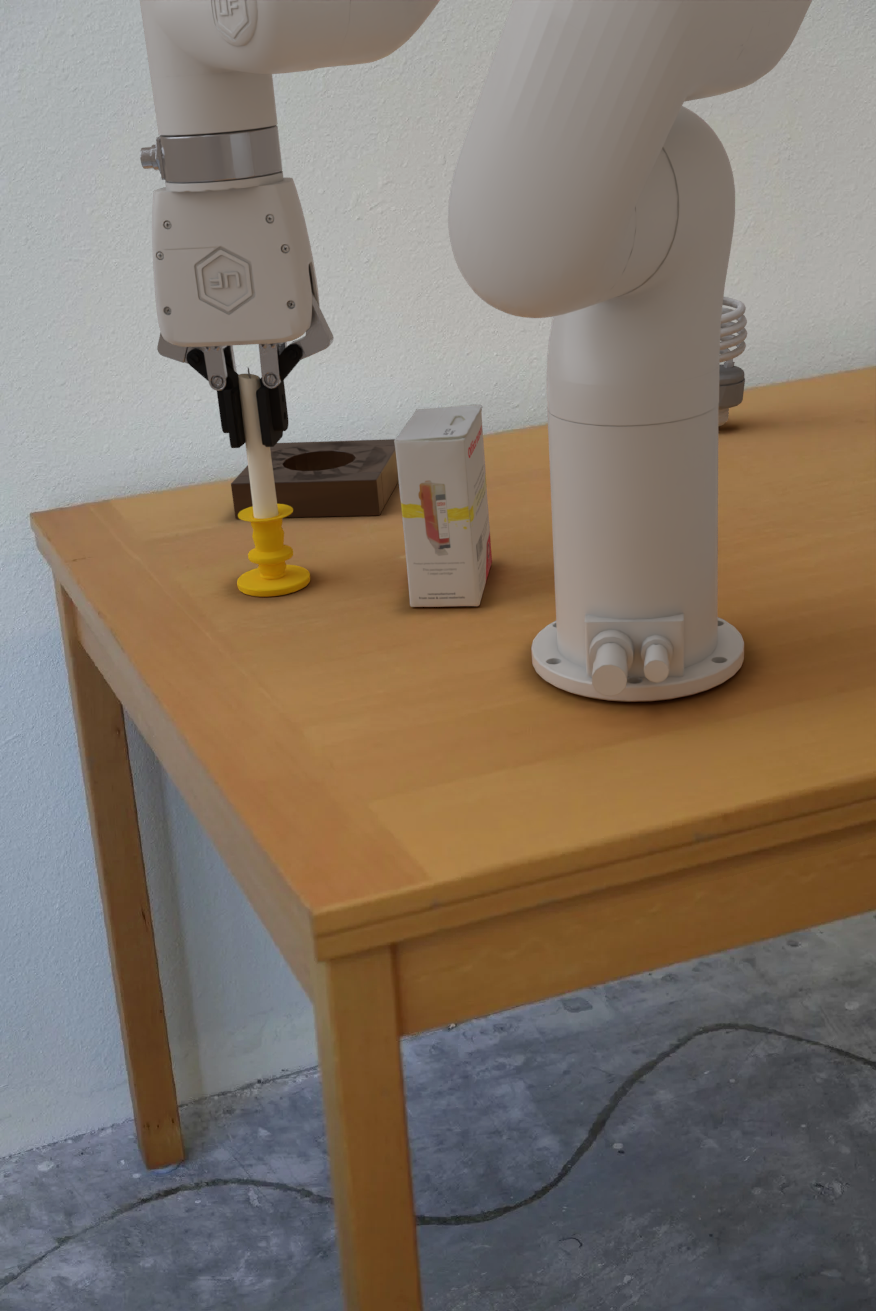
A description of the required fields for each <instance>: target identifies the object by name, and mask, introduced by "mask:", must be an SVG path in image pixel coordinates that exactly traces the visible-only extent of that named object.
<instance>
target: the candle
mask: <svg viewBox="0 0 876 1311" xmlns="http://www.w3.org/2000/svg"><path fill="white" fill-rule="evenodd" d="M238 374H239V375H238V377H239V390H240V401H241V409H242V417H243V426H244V434H245V443H244V445H245V451H246V452H245V453H246V460H247V465H248V470H249V478H250V487H251V495H252V504H253V506H252V507H249V508H246V509H244V510H242V511H240V512H239V513H238V517H239V520H241V521H244V522H249V523H250V527H251V528H252V534H251V538H252V541H253V544H254V547H253V548H252V549H250V550H249V552H248V553H247V559H248V561H249V562H250V563H251V564H256V565H258V566H257V567H256V568H253V569H249V570H248V571H245V572H244V573H242V574H240V576H239V577H238V578H237V579H236V580H237V582H236V586H237V589H238V590H239V592H241V593H243V595H247V596H251V597H261V598H262V597H263V598H264V597H265V598H267V597H278V596H279V597H280V596H285V595H289V594H292V593H296V592H298V591H300V590H302V589H304V588H305V587H307V586H308V585H309V584H310V583H311V573H310V571H309V570H308V569H307V568H305V567H303V566H300V565H296V564H287V563H286V562H287V561H288V560H290V559H292V558H293V556H294V549H293V547H291V546H290V545H288V544H285V530H284V529H283V519H284V517H287V516H289V515H290V514H291V513H292V512H293V508H292V507H291V506H289V505H285V504H277V499H276V491H275V483H274V475H273V467H272V459H271V451H270V447H265V445H263V444H262V439H261V431H260V423H259V415H258V406H257V398H256V391H257V390H258V389H259V388H260V387H261V384H260V378H261V376H259V375H257V374H254V373H250V368H249V367H247V373H238ZM287 518H288V517H287Z"/></svg>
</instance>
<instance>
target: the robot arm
mask: <svg viewBox="0 0 876 1311" xmlns="http://www.w3.org/2000/svg"><path fill="white" fill-rule="evenodd" d="M440 1H441V0H139V5H140V12H141V19H142V27H143V32H144V34H143V35H144V42H145V47H146V48H145V49H146V55H147V62H148V70H149V76H150V83H151V90H152V91H151V92H152V97H153V105H154V111H155V119H156V126H157V133H158V135H159V136H156V138H155V144H152V145H151V146H147V147H141V148H140V151H139V158H140V164H141V167H142V168H143V169H144V170H154V171H155V172H156V171H158V172H159V174H160V175H161V176H160V177H161V178H160V179H161V180H162V181H164V182H165V183H164V184H165V186H163V187H161V188H156V189H153V193H152V205H151V206H152V209H151V247H152V248H151V249H152V268H153V269H152V270H153V285H154V297H155V307H156V315H157V316H156V317H157V322H158V328H159V332H160V333H159V337H158V341H157V347H156V350H157V353H158V354H159V355H160V356H162V357H164V358H167V359H170V360H174V361H176V362H180V363H184V364H188V365H189V366H190V367H191V368H192V369H193V370H194V371H196V373H198V374H199V375H201V377H203V378H204V379H205V380H206V381H207V382H208V384H209V386H210V388H211V389H212V390H214V391H216V396H217V403H218V410H219V411H218V412H219V419H220V426H221V431H222V433H223V434H228V437H229V438H228V439H229V446H230V448H231V449H240V448H241V447H243V446H244V445H245V434H244V426H243V417H242V409H241V401H240V390H239V377H238V375H239V374H240V373H238V372H237V371H238V370H237V366H236V365H237V364H236V360H235V352H234V346H248V345H258V351H259V362H260V363H259V364H260V373H261V376H260V384H261V387H260V388H259V389H258V390H257V391H256V398H257V406H258V415H259V423H260V431H261V439H262V444H263V445H265V447H274V446H275V445H276V443H279V442H280V440H281V439H282V438H283V436H284V432H286V431H287V430H288V428H289V414H288V413H289V412H288V405H287V404H288V403H287V396H286V389H285V388H286V387H285V380H286V378H288V376H289V374H290V373H291V372H292V371H293V370H294V369H295V367H297V365H298V364H299V363H300V362H301V361H302V360H305V359H306V358H308V357H309V358H310V357H311V356H314V355H316V354H318V353H320V352H322V351H324V350H327V349H328V348H329V347H330V346H331V345H332V344H333V342H334V339H335V338H334V334H333V333H332V330H331V328H330V326H329V324H328V321H327V320H326V317H325V316H324V314H323V312H322V309H321V307H320V306H321V305H320V294H319V287H318V281H317V279H318V278H317V274H316V268H315V262H314V257H313V252H312V251H313V250H312V246H311V242H310V237H309V231H308V228H307V224H306V218H305V214H304V211H303V207H302V204H301V200H300V196H299V193H298V190H297V187H296V184H295V181H294V178H293V177H287V176H286V177H284V171H283V161H282V152H281V143H280V135H279V134H280V133H279V126H278V115H277V107H276V97H275V88H274V78H273V75H280V74H291V73H301V72H309V71H314V70H317V69H324V68H334V67H344V66H346V67H347V66H354V65H355V66H356V65H362V64H369V63H374V62H377V61H380V60H382V59H384V58H387V57H389V56H391V55H392V54H393V53H394V52H396V51H397V50H398V49H400V48H401V47H403V46H404V45H405V44H406V43H407V42H408V41H409V40H410V39H411V38H412V37H413V35H414V34H416V33H417V32H418V30H419V29H420V28H421V27H422V25H423V24H424V23H425V21H426V20H427V19H428V18H429V17H430V15H431V14H432V12H433V11H434V10H435V8H436V7H437V5H438V4H439V3H440ZM812 1H813V0H512V2H511V5H510V8H509V10H508V13H507V16H506V19H505V21H504V24H503V27H502V30H501V33H500V36H499V38H498V41H497V44H496V47H495V50H494V53H493V56H492V59H491V61H490V64H489V68H488V70H487V73H486V76H485V79H484V82H483V85H482V87H481V89H480V93H479V96H478V98H477V101H476V105H475V107H474V110H473V113H472V116H471V119H470V122H469V125H468V128H467V131H466V132H465V136H464V139H463V142H462V145H461V147H460V150H459V153H458V156H457V160H456V163H455V167H454V171H453V175H452V179H451V183H450V189H449V195H448V196H449V197H448V205H447V206H448V208H447V228H448V238H449V242H450V247H451V251H452V254H453V258H454V261H455V263H456V265H457V268H458V270H459V272H460V274H461V276H462V277H463V279H464V280H465V282H466V283H467V285H468V287H470V289H471V290H472V291H473V292H474V294H476V295H477V296H478V297H479V298H480V299H481V300H482V301H483V302H485V303H486V304H487V305H489V306H490V307H492V308H494V309H495V310H498V311H500V312H502V313H505V314H508V315H511V316H514V317H520V318H527V319H528V318H529V319H547V318H551V319H552V320H551V326H550V330H549V336H548V344H547V345H548V346H547V354H546V373H545V374H546V376H545V377H546V404H547V406H546V412H547V436H548V438H547V439H548V454H549V455H548V457H549V458H548V459H549V482H550V483H549V484H550V502H551V503H550V504H551V505H550V507H551V527H552V532H551V533H552V554H553V574H554V576H553V577H554V598H555V600H554V601H555V620H554V621H553V622H550V623H549V624H547V625H545V627H543V628H542V629H541V630H540V631H539V632H538V633H536V635H535V637H534V638H533V640H532V643H531V648H530V650H531V662H532V664H531V665H532V666H533V668H534V671H535V672H536V674H538V675H539V676H540V678H542V680H544V681H545V682H547V683H549V684H550V685H552V686H553V687H556V688H558V689H560V690H562V691H565V692H567V693H571V694H573V695H577V696H581V697H586V698H588V699H589V698H590V699H595V700H601V701H602V700H604V701H612V702H627V703H630V702H631V703H632V702H633V703H635V702H655V701H656V702H657V701H665V700H673V699H678V698H684V697H689V696H693V695H696V694H699V693H703V692H706V691H708V690H711V689H713V688H716V687H717V686H721V685H722V684H724V683H725V682H726V681H728V680H729V679H731V678H732V677H734V676H735V675H736V673H737V672H738V671H739V670H740V669H741V668H742V665H743V663H744V660H745V641H744V639H743V635H742V634H741V633H740V631H739V630H738V629H737V627H735V626H734V625H733V624H731V623H729V622H728V621H727V620H726V619H724V618H722V617H719V614H718V612H719V608H718V606H719V601H718V600H719V598H718V597H719V428H718V405H719V364H721V362H720V363H719V360H720V342H721V341H720V331H721V316H722V307H723V305H722V304H723V297H725V288H726V280H727V274H728V267H729V262H730V256H731V249H732V243H733V236H734V229H735V228H734V227H735V218H736V185H735V180H734V173H733V172H734V171H733V169H732V165H731V161H730V159H729V156H728V153H727V151H726V148H725V146H724V144H723V143H722V141H721V140H720V138H719V136H718V134H717V133H716V132H715V131H714V129H713V128H712V126H710V125H709V124H708V123H707V122H706V120H704V119H703V118H702V117H701V116H699V115H698V114H697V113H696V112H694V111H692V110H691V109H689V108H687V107H686V106H684V104H685V103H684V102H690V101H695V100H701V99H707V98H712V97H716V96H720V95H723V94H727V93H731V92H733V91H737V90H740V89H743V88H746V87H748V86H750V85H752V84H754V83H756V82H757V81H759V80H760V79H761V78H763V77H764V76H765V75H767V74H769V73H770V72H772V70H773V69H775V68H776V66H777V65H778V64H779V63H780V61H781V60H782V58H783V57H784V56H785V55H786V54H787V52H788V50H789V49H790V47H791V46H792V43H793V42H794V40H795V38H796V36H797V34H798V32H799V30H800V28H801V25H802V24H803V21H804V19H805V17H806V15H807V13H808V11H809V9H810V6H811V4H812ZM304 334H305V335H304ZM303 335H304V336H303ZM291 341H292V342H291ZM288 342H290V343H288Z"/></svg>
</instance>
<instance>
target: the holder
mask: <svg viewBox="0 0 876 1311" xmlns="http://www.w3.org/2000/svg"><path fill="white" fill-rule="evenodd" d="M395 439H396V438H392V439H391V438H390V439H389V438H388V439H387V438H386V439H361V440H360V439H357V440H333V441H332V440H328V441H327V440H326V441H297V442H296V441H295V442H294V441H293V442H277V443H276V445H275V446H274V447H270V451H271V459H272V467H273V475H274V483H275V491H276V499H277V504H285V505H289V506H291V507H292V508H293V512H292V513H291V514H290V515H289V516H287V517H284V518H287V519H288V518H320V517H323V518H324V517H326V518H327V517H329V518H330V517H364V516H365V517H366V516H380V515H381V513H383V510H384V508H385V506H386V504H387V502H388V501H389V499H390V497H391V495H392V494H393V492H394V490H395V489H396V488H397V487H396V486H397V485H398V484H399V479H398V469H397V460H396V450H395V443H394V440H395ZM230 488H231V495H232V503H233V511H234V512H233V513H234V518H235V519H237V520H238V519H239V517H238V513H239V512H240V511H242V510H244V509H246V508H249V507H252V506H253V504H252V495H251V487H250V478H249V470H248V464H247V465H246V466H245V468H244V469H243V470H242V471H241V472H240V473H239V474H238V475H237V476H236V478H234V480H233V481H232V482H231V483H230ZM284 518H283V519H284ZM239 520H240V519H239Z"/></svg>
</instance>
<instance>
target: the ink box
mask: <svg viewBox="0 0 876 1311" xmlns="http://www.w3.org/2000/svg"><path fill="white" fill-rule="evenodd" d="M482 411H483V405H481V404H478V403H477V404H464V405H452V406H442V407H441V406H440V407H430V408H416V409H415V411H414V413H413V414H412V415H411V416H410V417H409V420H408V421H407V422H406V424H404V426H403V427H402V429H401V430H400V432H399V433H398V435H396V437H395V438H394V439H395V440H394V443H395V450H396V460H397V469H398V479H399V481H398V487H399V488H398V489H399V498H400V506H401V517H402V518H401V520H402V530H403V541H404V550H405V561H406V563H405V564H406V574H407V575H406V576H407V584H408V597H409V606H410V607H411V608H423V607H424V608H434V607H435V608H436V607H437V608H439V607H440V608H441V607H442V608H443V607H479V606H480V604H481V601H482V598H483V594H484V591H485V587H486V584H487V581H488V576H489V572H490V570H491V566H492V563H493V555H492V545H491V544H492V541H491V530H490V529H491V526H490V515H489V514H490V513H489V500H488V499H489V498H488V486H487V485H488V484H487V472H486V470H487V469H486V457H485V441H484V430H483V429H484V428H483V416H482Z"/></svg>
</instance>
